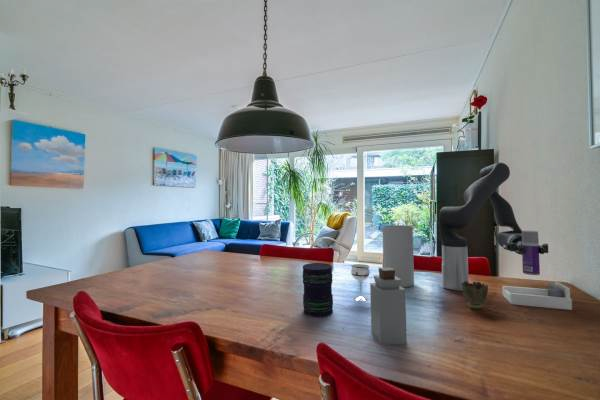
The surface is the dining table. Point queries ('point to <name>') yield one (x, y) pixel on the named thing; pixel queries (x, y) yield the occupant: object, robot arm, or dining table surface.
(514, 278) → the dining table surface
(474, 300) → the cup
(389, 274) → the perfume bottle
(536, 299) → the white drawer
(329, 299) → the storage jar
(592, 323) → the dining table surface
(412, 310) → the dining table surface
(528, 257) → the container
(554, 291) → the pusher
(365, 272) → the wineglass
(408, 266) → the grey rectangular pillar
